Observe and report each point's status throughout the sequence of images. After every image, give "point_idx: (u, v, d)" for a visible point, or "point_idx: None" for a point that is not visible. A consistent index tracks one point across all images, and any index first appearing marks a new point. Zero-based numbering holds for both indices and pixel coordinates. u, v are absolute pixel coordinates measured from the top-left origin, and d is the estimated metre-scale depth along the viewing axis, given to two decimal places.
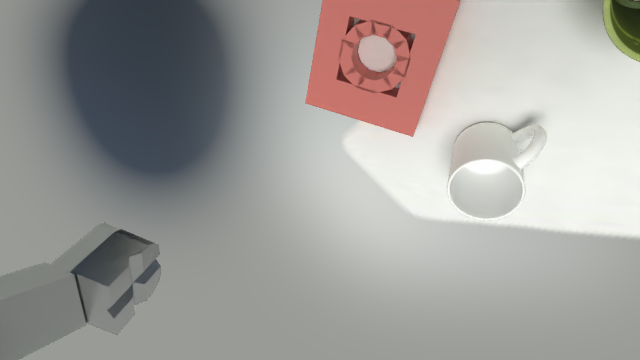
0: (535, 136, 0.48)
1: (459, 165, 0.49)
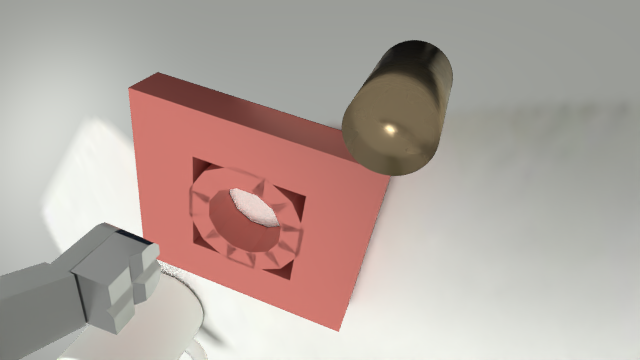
0: None
1: None
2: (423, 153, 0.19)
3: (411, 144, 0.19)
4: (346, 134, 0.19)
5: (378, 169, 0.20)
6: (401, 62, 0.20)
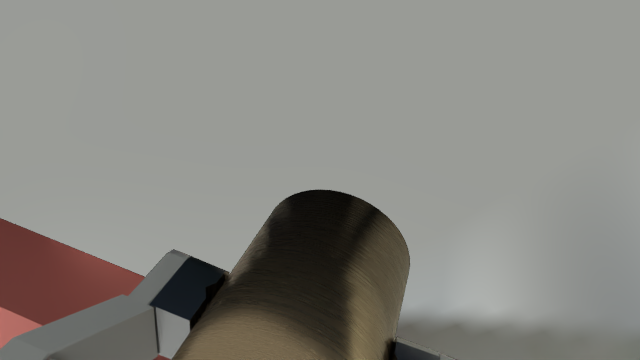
0: None
1: None
2: None
3: None
4: None
5: None
6: (268, 300, 0.08)
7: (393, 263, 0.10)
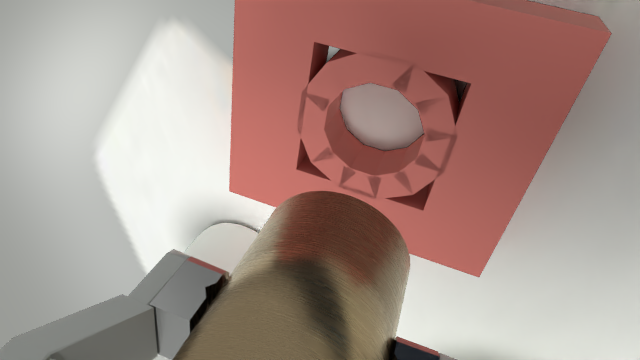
0: None
1: None
2: None
3: None
4: None
5: None
6: (269, 301, 0.08)
7: (393, 264, 0.10)
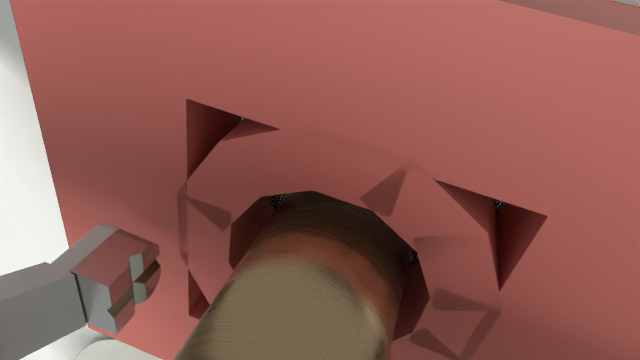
0: None
1: None
2: None
3: None
4: None
5: None
6: (303, 238, 0.10)
7: None
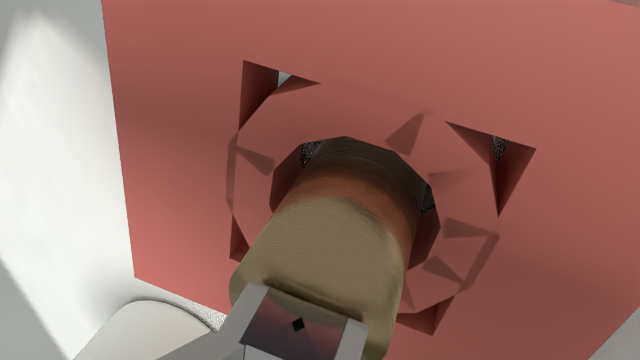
0: None
1: None
2: (364, 354, 0.11)
3: None
4: None
5: None
6: (338, 178, 0.12)
7: None
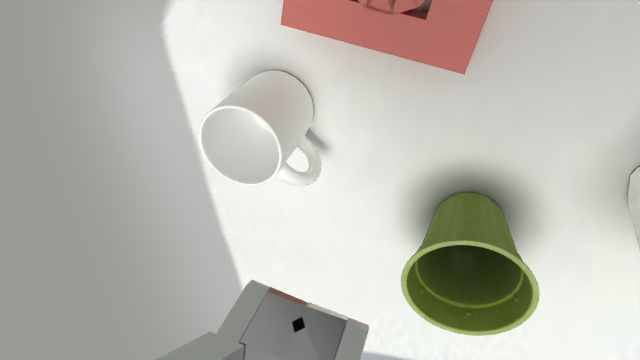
0: (312, 174, 0.44)
1: (264, 116, 0.38)
2: None
3: None
4: None
5: None
6: None
7: None
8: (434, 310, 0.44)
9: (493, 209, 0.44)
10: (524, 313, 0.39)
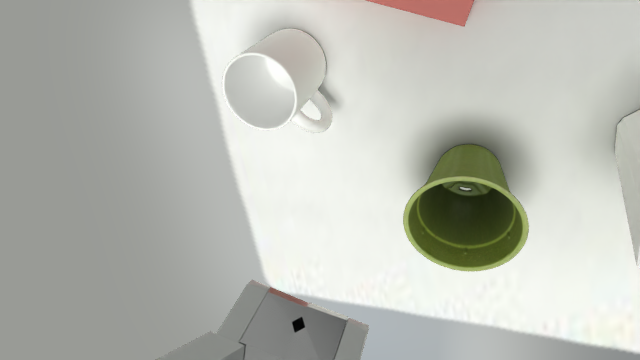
0: (324, 122, 0.48)
1: (281, 62, 0.42)
2: None
3: None
4: None
5: None
6: None
7: None
8: (433, 248, 0.47)
9: (490, 157, 0.48)
10: (515, 247, 0.43)
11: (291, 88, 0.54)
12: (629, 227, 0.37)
